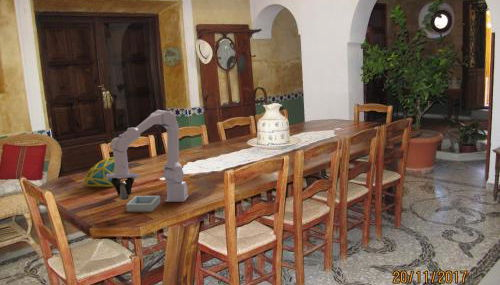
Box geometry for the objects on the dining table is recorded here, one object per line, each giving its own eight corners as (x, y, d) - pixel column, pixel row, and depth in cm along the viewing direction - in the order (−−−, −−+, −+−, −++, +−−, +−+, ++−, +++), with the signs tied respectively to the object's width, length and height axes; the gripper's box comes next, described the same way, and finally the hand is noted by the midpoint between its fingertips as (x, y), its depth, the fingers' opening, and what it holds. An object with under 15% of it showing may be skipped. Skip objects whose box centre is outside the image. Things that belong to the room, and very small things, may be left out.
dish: (160, 202, 222) (159, 195, 222) (152, 211, 211) (151, 204, 210) (136, 202, 224) (135, 195, 223) (126, 211, 212) (126, 204, 212)
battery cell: (130, 196, 209) (129, 180, 208) (127, 199, 206) (125, 183, 204) (122, 196, 210) (120, 180, 208) (118, 199, 206) (117, 183, 205)
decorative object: (118, 183, 270) (105, 161, 269) (139, 172, 255) (125, 148, 254) (85, 201, 252) (71, 177, 251) (106, 190, 237) (91, 164, 236)
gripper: (101, 167, 202) (105, 197, 204) (133, 166, 200) (136, 196, 203) (108, 163, 208) (111, 192, 211) (139, 162, 207) (142, 191, 209)
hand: (124, 194), depth 207 cm, fingers closed on battery cell, 4 cm apart
